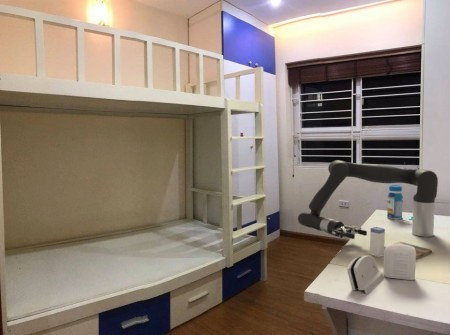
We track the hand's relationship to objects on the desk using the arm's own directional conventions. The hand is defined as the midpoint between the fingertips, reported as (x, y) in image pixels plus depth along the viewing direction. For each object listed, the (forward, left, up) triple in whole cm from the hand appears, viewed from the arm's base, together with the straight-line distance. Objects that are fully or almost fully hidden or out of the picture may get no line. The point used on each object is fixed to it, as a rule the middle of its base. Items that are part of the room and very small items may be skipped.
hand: (360, 235), depth 147 cm
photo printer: (+14, +26, -7) cm, 31 cm away
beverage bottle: (-64, -23, -7) cm, 68 cm away
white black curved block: (+28, +22, -7) cm, 36 cm away
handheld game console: (-76, -13, -7) cm, 77 cm away
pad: (-14, +13, -6) cm, 20 cm away
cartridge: (0, +8, -6) cm, 11 cm away
